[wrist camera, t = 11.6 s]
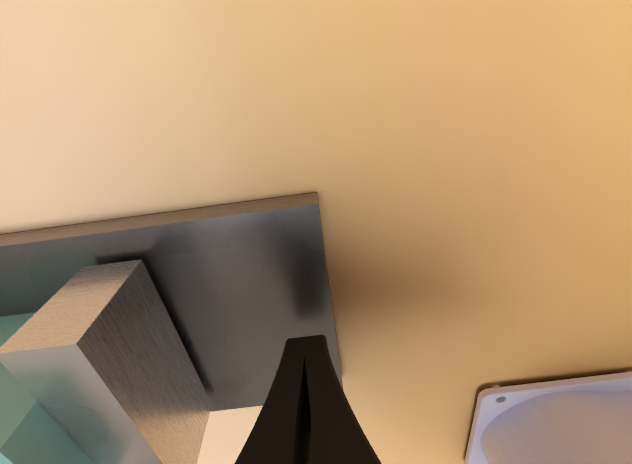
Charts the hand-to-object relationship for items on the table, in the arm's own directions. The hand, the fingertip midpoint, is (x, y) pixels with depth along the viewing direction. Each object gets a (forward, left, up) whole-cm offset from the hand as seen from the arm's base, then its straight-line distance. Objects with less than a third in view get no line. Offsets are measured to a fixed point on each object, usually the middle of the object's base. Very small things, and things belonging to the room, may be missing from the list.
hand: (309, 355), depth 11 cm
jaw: (+6, 0, -1) cm, 6 cm away
